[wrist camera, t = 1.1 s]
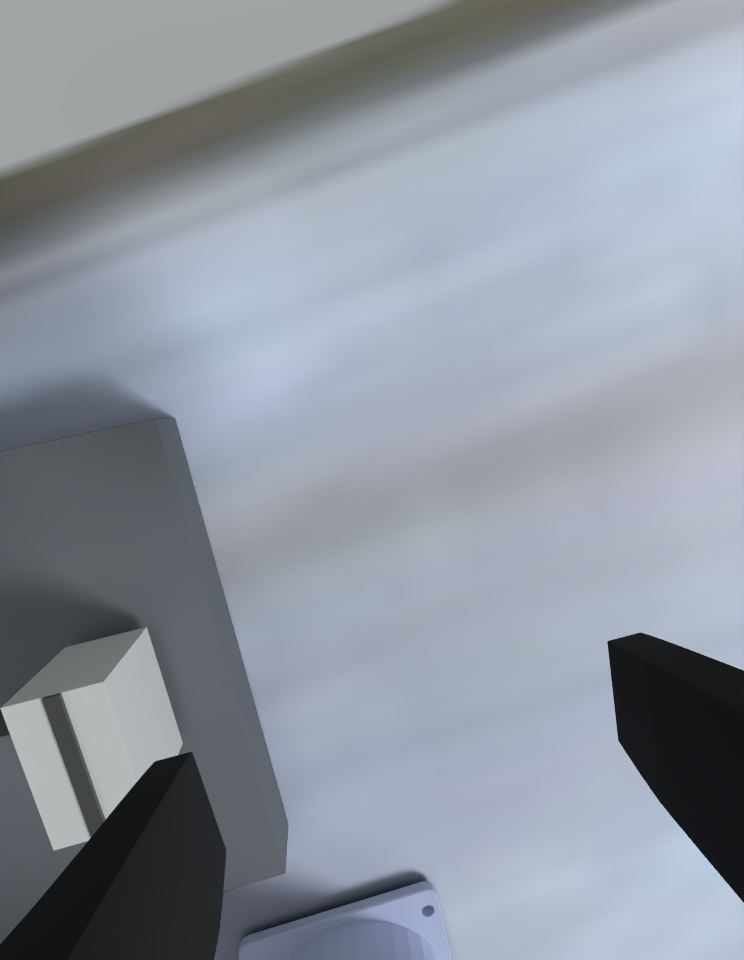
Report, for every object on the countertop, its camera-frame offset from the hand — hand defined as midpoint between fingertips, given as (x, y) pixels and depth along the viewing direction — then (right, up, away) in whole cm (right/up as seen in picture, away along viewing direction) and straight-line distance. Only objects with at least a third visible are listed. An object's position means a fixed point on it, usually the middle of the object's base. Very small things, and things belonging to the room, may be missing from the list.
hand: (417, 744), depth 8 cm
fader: (-8, -2, +7) cm, 11 cm away
